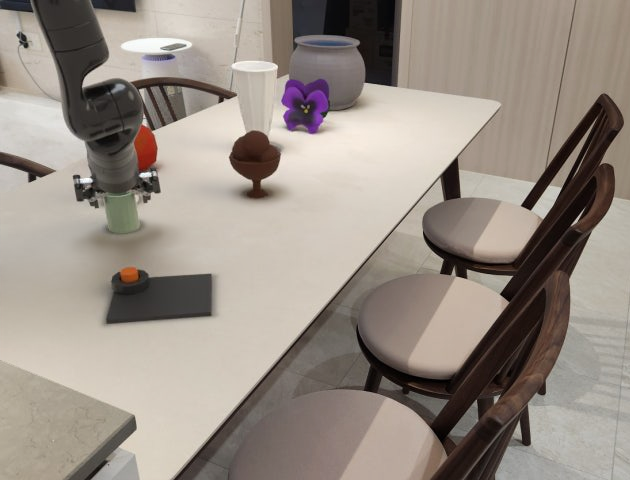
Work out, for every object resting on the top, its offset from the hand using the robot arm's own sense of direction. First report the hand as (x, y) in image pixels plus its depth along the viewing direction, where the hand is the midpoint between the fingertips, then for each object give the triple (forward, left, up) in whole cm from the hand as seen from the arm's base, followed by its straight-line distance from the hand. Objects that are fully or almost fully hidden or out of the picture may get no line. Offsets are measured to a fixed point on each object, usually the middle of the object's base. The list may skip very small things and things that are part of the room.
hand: (120, 201), depth 119 cm
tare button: (+4, -24, -4) cm, 24 cm away
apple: (-1, +35, -6) cm, 35 cm away
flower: (+44, +67, -6) cm, 80 cm away
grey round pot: (+53, +93, -6) cm, 107 cm away
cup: (+28, +46, -6) cm, 54 cm away
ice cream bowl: (+26, +15, -6) cm, 30 cm away
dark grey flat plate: (+9, -27, -6) cm, 29 cm away
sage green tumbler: (0, +1, -6) cm, 6 cm away
